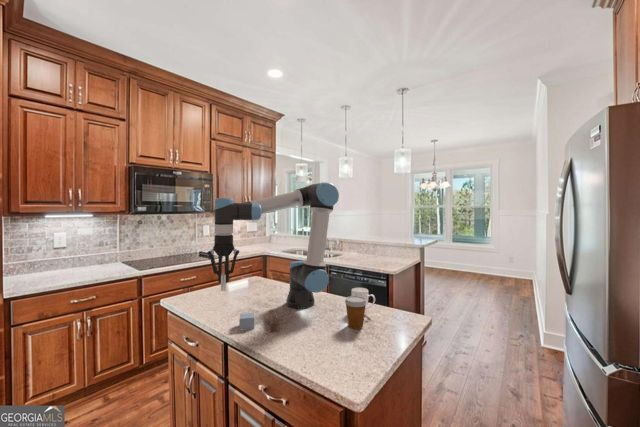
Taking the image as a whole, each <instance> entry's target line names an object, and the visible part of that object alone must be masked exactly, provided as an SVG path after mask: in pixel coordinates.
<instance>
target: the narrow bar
mask: <svg viewBox="0 0 640 427" xmlns="http://www.w3.org/2000/svg"><path fill="white" fill-rule="evenodd" d="M268 321H269V328H270V333H278V332H279V320H278V315H277V311H276V309H272V310H268Z"/></svg>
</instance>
